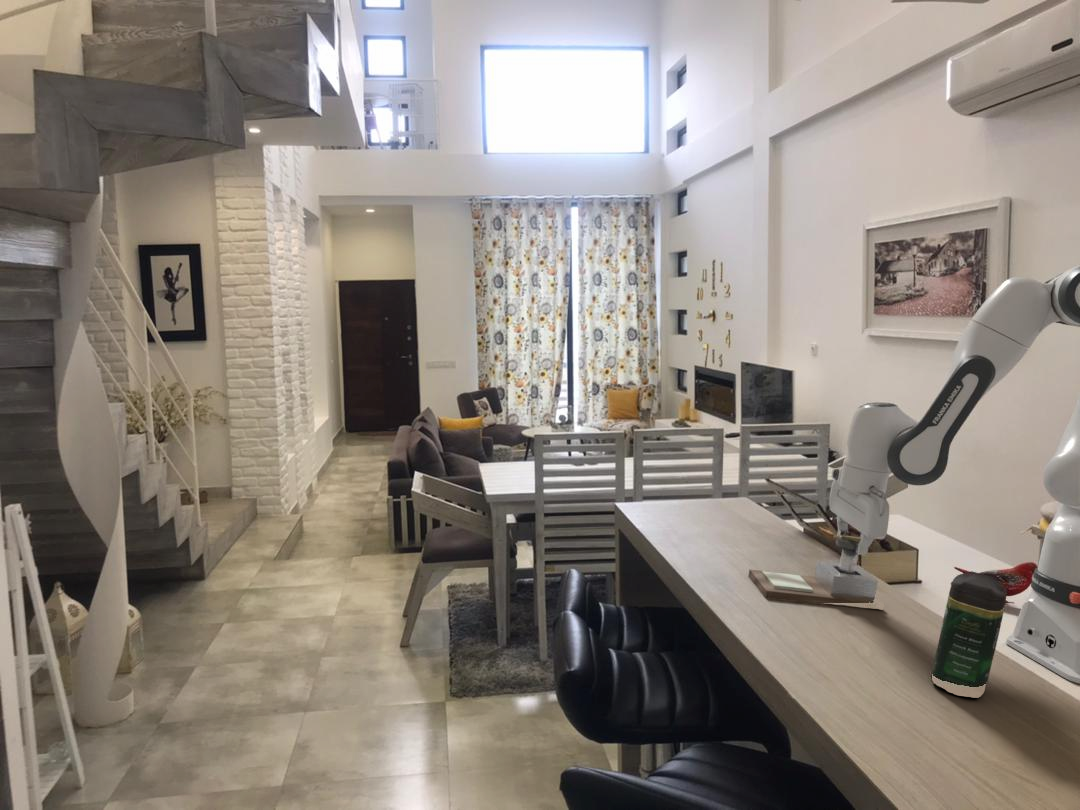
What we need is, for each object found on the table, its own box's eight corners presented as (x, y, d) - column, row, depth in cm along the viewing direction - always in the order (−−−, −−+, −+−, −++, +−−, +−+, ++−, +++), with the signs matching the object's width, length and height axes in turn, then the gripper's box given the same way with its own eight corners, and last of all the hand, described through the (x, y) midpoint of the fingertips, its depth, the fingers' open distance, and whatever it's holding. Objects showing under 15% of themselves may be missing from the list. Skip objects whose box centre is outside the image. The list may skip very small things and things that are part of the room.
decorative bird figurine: (1037, 611, 172) (1047, 566, 170) (950, 596, 174) (959, 552, 173) (1031, 606, 175) (1041, 562, 173) (946, 591, 177) (955, 548, 176)
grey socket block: (874, 599, 161) (877, 580, 161) (830, 595, 161) (834, 576, 160) (855, 583, 170) (859, 565, 170) (814, 578, 170) (817, 560, 169)
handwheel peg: (863, 596, 163) (873, 543, 161) (834, 593, 163) (844, 540, 161) (851, 585, 169) (861, 534, 167) (823, 582, 169) (833, 530, 167)
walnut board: (883, 610, 160) (885, 600, 160) (765, 598, 159) (767, 587, 159) (858, 588, 172) (860, 578, 172) (748, 576, 171) (749, 566, 171)
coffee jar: (981, 707, 123) (1006, 592, 121) (926, 687, 128) (948, 576, 125) (988, 686, 131) (1012, 578, 129) (936, 668, 136) (957, 563, 133)
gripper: (903, 496, 152) (889, 565, 154) (858, 470, 172) (846, 532, 174) (870, 492, 152) (857, 562, 154) (829, 467, 172) (818, 529, 174)
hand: (851, 546), depth 164 cm, fingers open, 8 cm apart
